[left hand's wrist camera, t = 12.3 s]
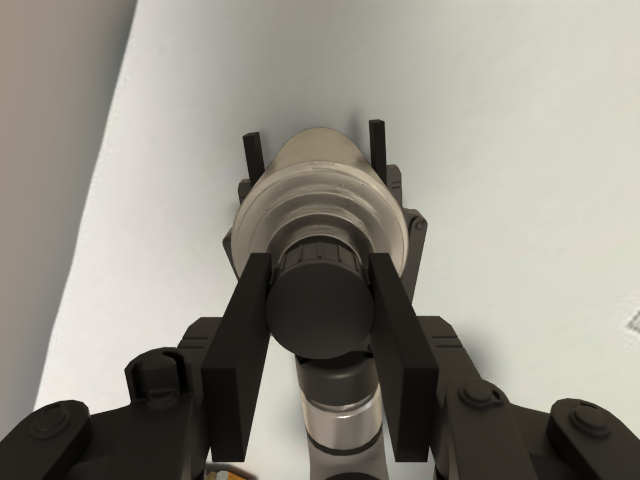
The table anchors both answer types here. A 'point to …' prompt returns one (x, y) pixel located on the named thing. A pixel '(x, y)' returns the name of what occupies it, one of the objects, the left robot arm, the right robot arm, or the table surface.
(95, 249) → the table surface
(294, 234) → the bottle
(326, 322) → the cap
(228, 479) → the spray gun
